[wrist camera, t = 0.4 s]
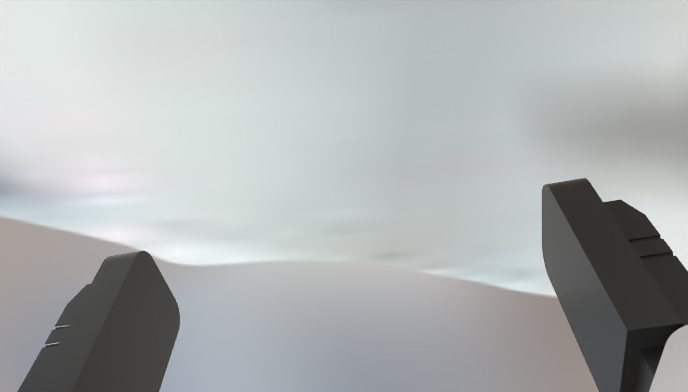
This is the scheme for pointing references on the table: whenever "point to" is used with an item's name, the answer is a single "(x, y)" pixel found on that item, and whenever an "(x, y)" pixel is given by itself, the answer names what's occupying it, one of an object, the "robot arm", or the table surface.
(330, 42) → the table surface
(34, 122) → the table surface
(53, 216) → the table surface
